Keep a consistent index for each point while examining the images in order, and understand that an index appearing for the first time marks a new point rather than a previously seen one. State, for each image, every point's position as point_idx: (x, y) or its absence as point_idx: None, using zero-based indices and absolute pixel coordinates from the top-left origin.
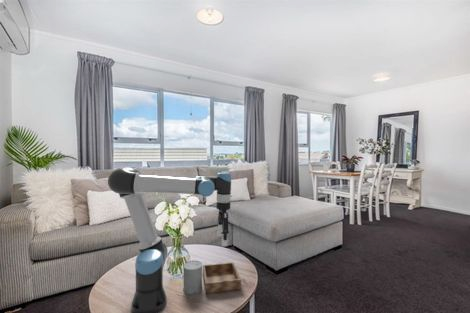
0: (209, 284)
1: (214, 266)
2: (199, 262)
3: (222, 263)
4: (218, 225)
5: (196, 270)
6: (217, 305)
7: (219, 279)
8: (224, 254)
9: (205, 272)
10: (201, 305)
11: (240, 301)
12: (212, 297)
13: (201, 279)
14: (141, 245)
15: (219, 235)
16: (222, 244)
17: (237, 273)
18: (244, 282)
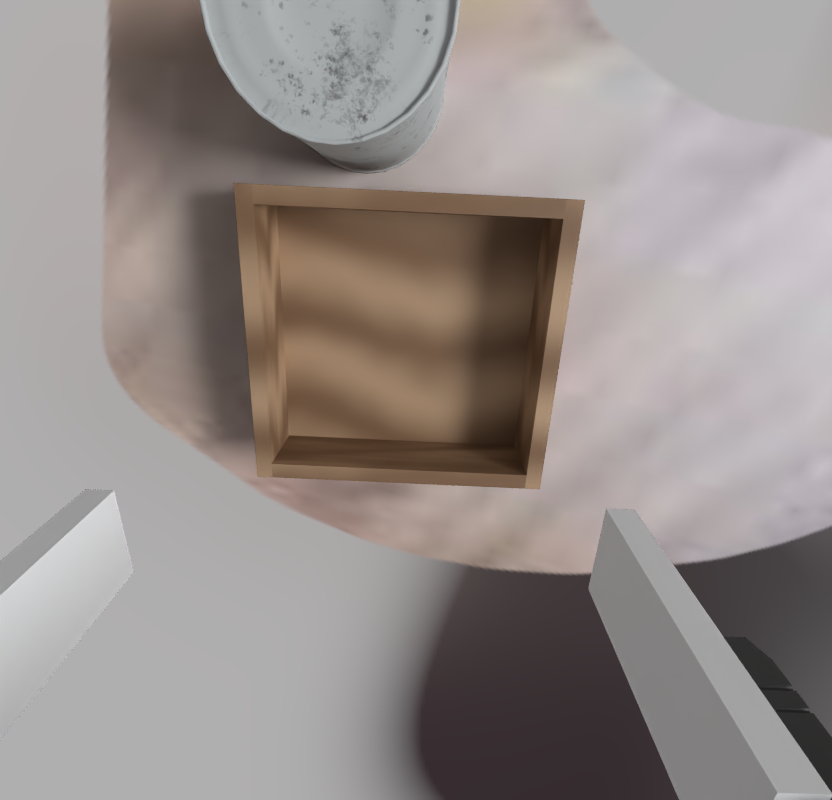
0: (239, 221)
1: (544, 318)
2: (396, 113)
3: (550, 398)
4: (765, 776)
5: (220, 51)
6: (134, 257)
7: (417, 329)
8: (825, 450)
9: (429, 209)
10: (138, 139)
11: (166, 408)
12: (224, 237)
13: (319, 152)
14: None
15: (605, 548)
16: (62, 516)
17: (349, 475)
18: (363, 484)
